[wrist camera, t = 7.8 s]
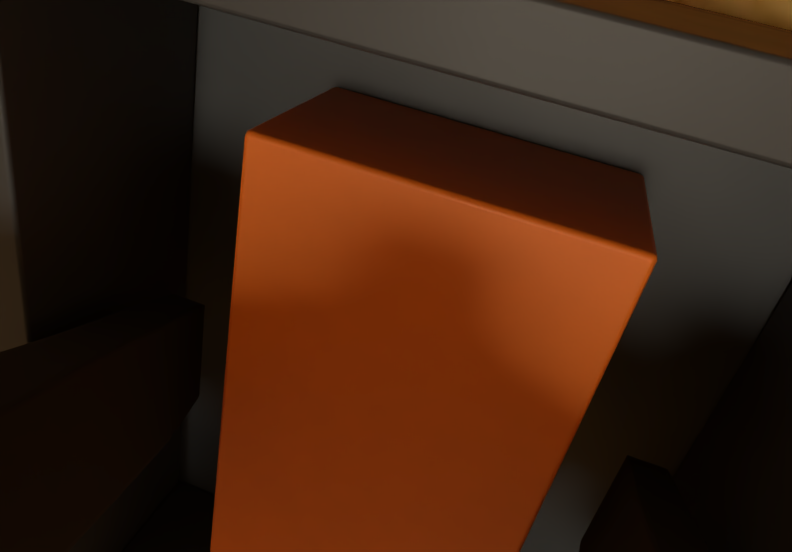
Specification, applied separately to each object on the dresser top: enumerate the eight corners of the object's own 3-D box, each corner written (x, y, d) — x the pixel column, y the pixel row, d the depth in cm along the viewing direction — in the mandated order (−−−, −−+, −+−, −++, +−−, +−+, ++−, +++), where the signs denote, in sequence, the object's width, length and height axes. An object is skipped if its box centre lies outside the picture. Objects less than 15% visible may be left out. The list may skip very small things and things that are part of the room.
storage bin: (169, 467, 17) (30, 632, 13) (186, -118, 10) (-96, -164, 6) (595, 640, 15) (591, 893, 11) (959, 71, 8) (1294, 183, 4)
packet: (275, 471, 15) (206, 582, 12) (334, 84, 10) (243, 130, 8) (483, 553, 14) (455, 690, 11) (645, 174, 9) (661, 257, 7)
